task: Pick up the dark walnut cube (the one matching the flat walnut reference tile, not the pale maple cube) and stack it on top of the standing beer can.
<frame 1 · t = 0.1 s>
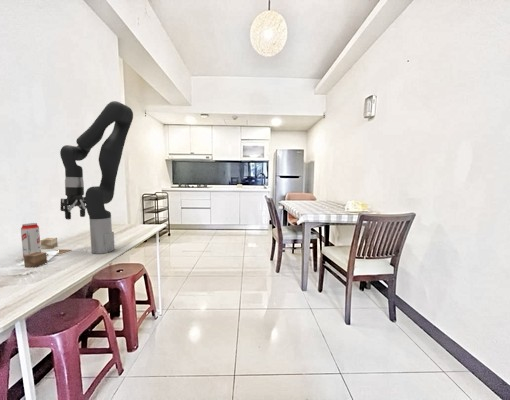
hand: (75, 218, 121), 17 cm above the table, tool pointing down, fingers open, 8 cm apart
walnut cube: (36, 265, 102), on the table
reference tile: (59, 252, 119), on the table
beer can: (32, 258, 112), on the table
maple cube: (49, 247, 129), on the table
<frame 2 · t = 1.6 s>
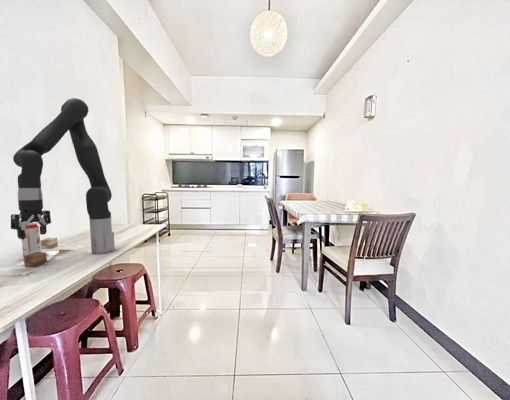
hand: (33, 236, 101), 12 cm above the table, tool pointing down, fingers open, 8 cm apart
nothing on the table moved.
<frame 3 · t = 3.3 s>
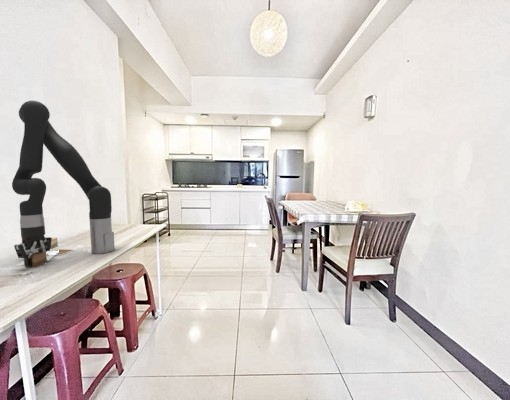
hand: (35, 264, 102), 0 cm above the table, tool pointing down, fingers closed on walnut cube, 5 cm apart
walnut cube: (36, 265, 102), on the table, touching gripper
everything else where it was.
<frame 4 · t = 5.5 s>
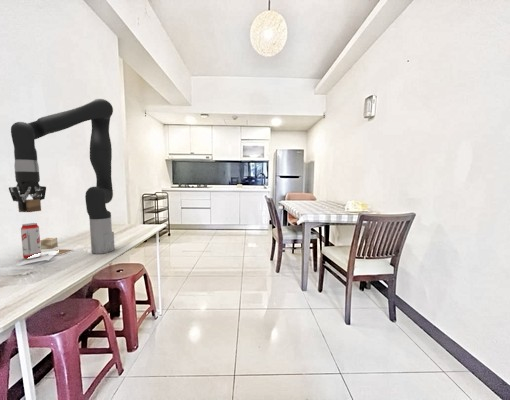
hand: (30, 210, 103), 23 cm above the table, tool pointing down, fingers closed on walnut cube, 5 cm apart
walnut cube: (30, 211, 103), point 23 cm above the table, touching gripper
everything else where it was.
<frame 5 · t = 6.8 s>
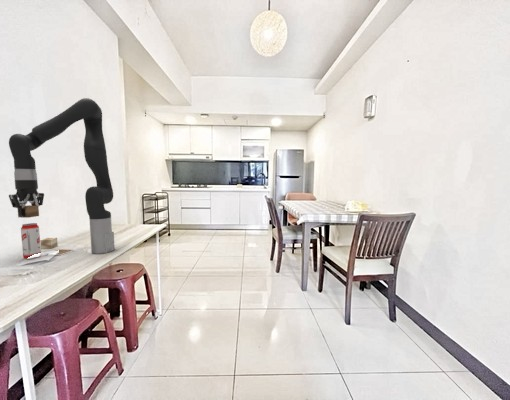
hand: (29, 215, 110), 20 cm above the table, tool pointing down, fingers closed on walnut cube, 5 cm apart
walnut cube: (28, 216, 110), point 20 cm above the table, touching gripper
everything else where it was.
when the fingers open (17 cm above the table, at t = 7.7 s): walnut cube stays where it is, resting on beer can.
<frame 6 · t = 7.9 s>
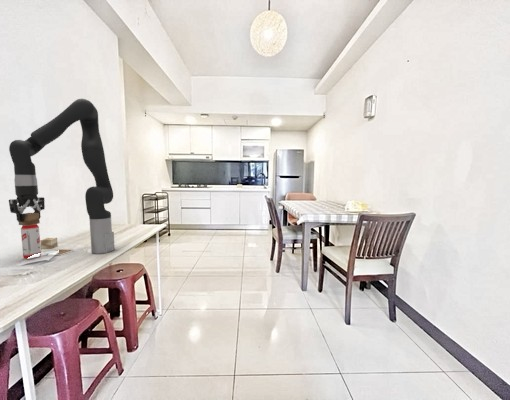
hand: (29, 220, 110), 18 cm above the table, tool pointing down, fingers open, 6 cm apart
walnut cube: (29, 224, 111), point 16 cm above the table, touching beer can
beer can: (32, 258, 112), on the table, touching walnut cube
everything else where it was.
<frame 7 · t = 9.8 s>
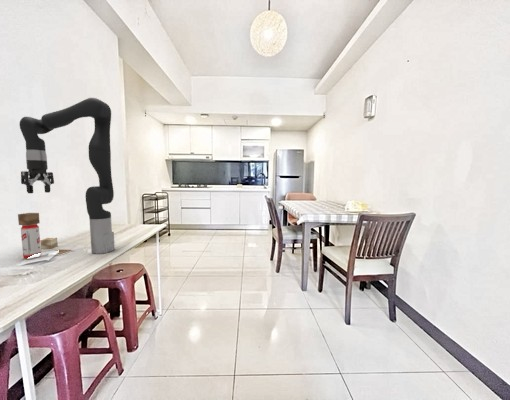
hand: (39, 192, 118), 30 cm above the table, tool pointing down, fingers open, 8 cm apart
nothing on the table moved.
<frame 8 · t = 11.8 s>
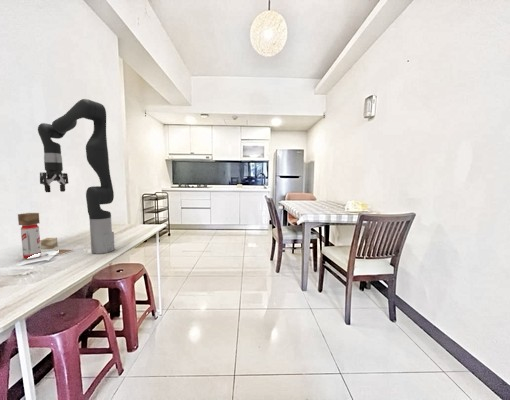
hand: (55, 191, 130), 30 cm above the table, tool pointing down, fingers open, 8 cm apart
nothing on the table moved.
at the end: walnut cube 0.1 cm off-centre on the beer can, point 16.2 cm above the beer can's base; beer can tilted 0°; the gripper is holding nothing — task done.
